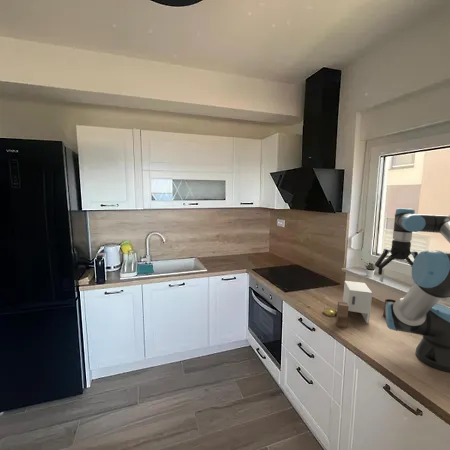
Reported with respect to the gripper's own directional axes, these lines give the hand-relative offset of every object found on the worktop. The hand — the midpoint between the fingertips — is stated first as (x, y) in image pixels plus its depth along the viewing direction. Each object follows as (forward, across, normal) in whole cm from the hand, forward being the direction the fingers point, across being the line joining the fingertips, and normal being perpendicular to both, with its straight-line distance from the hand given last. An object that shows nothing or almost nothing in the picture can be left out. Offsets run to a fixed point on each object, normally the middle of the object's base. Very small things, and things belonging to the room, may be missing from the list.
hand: (396, 282), depth 126 cm
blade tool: (+27, +23, -8) cm, 36 cm away
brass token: (+27, +27, -13) cm, 41 cm away
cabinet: (+27, +14, -16) cm, 34 cm away
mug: (+27, -8, -22) cm, 36 cm away
